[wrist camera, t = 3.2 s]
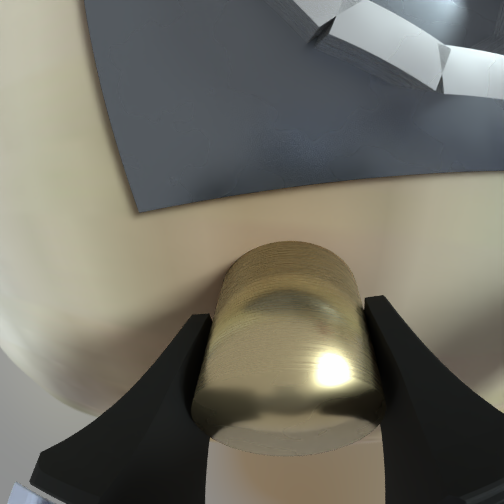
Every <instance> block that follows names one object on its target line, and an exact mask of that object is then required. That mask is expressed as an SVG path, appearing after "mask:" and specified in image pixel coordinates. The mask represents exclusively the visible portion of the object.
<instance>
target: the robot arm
mask: <svg viewBox="0 0 504 504" xmlns="http://www.w3.org/2000/svg"><path fill="white" fill-rule="evenodd" d="M364 313H365V317H366V320H367V324H368V328H369V332H370V336H371V340H372V344H373V348H374V352H375V356H376V360H377V365H378V369H379V373H380V378H381V383H382V387H383V392H384V397H385V402H386V412H385V416H384V418H383V420H382V421H381V423H380V426H381V432H382V441H383V452H384V464H385V465H384V466H385V491H386V492H385V501H386V502H385V504H504V413H502V412H501V411H499V410H498V409H496V408H495V407H493V406H492V405H491V404H489V403H488V402H487V401H485V400H484V399H483V398H481V397H480V396H479V395H477V394H476V393H475V392H473V391H472V390H471V389H470V388H469V387H468V386H466V385H465V384H464V383H463V382H462V381H461V380H459V379H458V378H457V377H456V376H455V375H454V374H453V373H452V372H451V371H450V370H449V369H448V368H447V367H445V366H444V365H443V364H442V363H441V362H440V361H439V359H438V358H437V357H436V356H435V355H434V354H433V353H432V352H431V351H430V350H429V349H428V348H427V347H426V346H425V345H424V343H423V342H422V341H421V340H420V339H419V338H418V337H417V335H416V334H415V333H414V332H413V331H412V330H411V329H410V327H409V326H408V325H407V324H406V323H405V321H404V320H403V319H402V318H401V316H400V315H399V314H398V313H397V311H396V310H395V309H394V308H393V306H392V305H391V304H390V302H389V301H388V300H387V298H386V297H385V296H383V295H381V296H374V297H367V298H365V306H364ZM212 323H213V322H212V319H211V317H210V314H195V315H192V316H191V317H190V318H189V320H188V321H187V322H186V323H185V325H184V326H183V327H182V329H181V330H180V331H179V332H178V334H177V335H176V336H175V338H174V339H173V340H172V342H171V343H170V344H169V345H168V347H167V348H166V349H165V350H164V352H163V353H162V354H161V355H160V357H159V358H158V359H157V360H156V362H155V363H154V364H153V365H152V366H151V367H150V368H149V370H148V371H147V372H146V373H145V374H144V375H143V376H142V377H141V379H140V380H139V381H138V382H137V383H136V384H135V385H134V386H133V387H132V388H131V389H130V390H129V391H128V392H127V393H126V394H125V395H124V396H123V397H122V398H121V399H120V400H119V401H117V402H116V403H115V404H114V405H113V406H112V407H111V408H109V409H108V410H107V411H106V412H104V413H103V414H102V415H101V416H99V417H98V418H97V419H96V420H95V421H93V422H92V423H91V424H89V425H88V426H86V427H84V428H83V429H82V430H80V431H79V432H77V433H75V434H74V435H72V436H71V437H69V438H67V439H66V440H64V441H62V442H60V443H58V444H56V445H54V446H52V447H51V448H49V449H47V450H45V451H42V452H41V453H40V456H39V458H38V461H37V463H36V466H35V468H34V471H33V473H32V476H31V479H30V484H31V485H33V486H35V487H36V488H38V489H40V490H41V491H43V492H45V493H47V494H49V495H51V496H53V497H54V498H56V499H58V500H60V501H62V502H64V503H66V504H205V485H206V469H207V457H208V447H209V440H210V437H209V436H208V435H206V434H205V433H204V432H203V431H202V430H200V428H199V427H198V426H197V425H196V424H195V422H194V420H193V418H192V415H191V407H192V403H193V399H194V394H195V390H196V386H197V382H198V378H199V374H200V370H201V366H202V362H203V358H204V354H205V350H206V346H207V342H208V338H209V334H210V330H211V326H212ZM7 504H56V503H53V502H52V501H50V500H48V499H46V498H43V497H41V496H40V495H38V494H36V493H35V492H33V491H31V490H30V489H28V488H26V487H25V486H23V485H21V484H20V483H18V482H15V483H14V486H13V489H12V491H11V494H10V497H9V500H8V503H7Z"/></svg>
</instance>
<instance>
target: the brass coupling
mask: <svg viewBox="0 0 504 504" xmlns="http://www.w3.org/2000/svg"><path fill="white" fill-rule="evenodd" d="M385 412H386V402H385V397H384V392H383V387H382V383H381V378H380V373H379V369H378V365H377V360H376V356H375V352H374V348H373V344H372V340H371V336H370V332H369V328H368V324H367V320H366V317H365V313H364V309H363V306H362V302H361V298H360V295H359V291H358V288H357V285H356V281H355V278H354V276H353V274H352V272H351V270H350V269H349V267H348V266H347V264H346V263H345V262H344V261H343V260H342V259H341V258H339V257H338V256H337V255H336V254H334V253H333V252H331V251H329V250H327V249H325V248H323V247H321V246H318V245H314V244H311V243H306V242H298V241H284V242H276V243H270V244H267V245H263V246H260V247H258V248H256V249H253V250H251V251H250V252H248V253H246V254H245V255H243V256H242V257H241V258H239V259H238V260H237V261H236V262H235V263H234V264H233V265H232V266H231V268H230V269H229V271H228V272H227V274H226V276H225V278H224V281H223V284H222V288H221V292H220V296H219V299H218V303H217V307H216V311H215V315H214V319H213V323H212V326H211V330H210V334H209V338H208V342H207V346H206V350H205V354H204V358H203V362H202V366H201V370H200V374H199V378H198V382H197V386H196V390H195V394H194V399H193V403H192V407H191V415H192V418H193V420H194V422H195V424H196V425H197V426H198V427H199V428H200V430H202V431H203V432H204V433H205V434H206V435H208V436H209V437H211V438H212V439H214V440H216V441H218V442H220V443H222V444H224V445H227V446H229V447H232V448H235V449H238V450H242V451H246V452H250V453H255V454H262V455H270V456H302V455H312V454H318V453H323V452H328V451H331V450H335V449H338V448H341V447H344V446H347V445H349V444H352V443H354V442H356V441H358V440H360V439H362V438H363V437H365V436H366V435H368V434H369V433H370V432H372V431H373V430H374V429H375V428H376V427H377V426H378V425H379V424H380V423H381V421H382V420H383V418H384V416H385Z"/></svg>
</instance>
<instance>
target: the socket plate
mask: <svg viewBox="0 0 504 504" xmlns="http://www.w3.org/2000/svg"><path fill="white" fill-rule="evenodd" d="M84 3H85V10H86V16H87V22H88V27H89V33H90V38H91V43H92V48H93V53H94V58H95V62H96V67H97V71H98V76H99V80H100V84H101V88H102V92H103V96H104V100H105V104H106V108H107V112H108V115H109V119H110V122H111V126H112V130H113V133H114V137H115V140H116V143H117V147H118V150H119V153H120V156H121V160H122V163H123V166H124V169H125V172H126V175H127V178H128V181H129V184H130V187H131V190H132V193H133V196H134V199H135V202H136V205H137V208H138V211H139V213H140V212H145V211H150V210H155V209H160V208H165V207H171V206H176V205H181V204H187V203H192V202H198V201H203V200H209V199H215V198H221V197H227V196H233V195H240V194H246V193H253V192H259V191H266V190H273V189H280V188H288V187H295V186H303V185H311V184H319V183H327V182H336V181H345V180H355V179H365V178H376V177H387V176H399V175H412V174H427V173H444V172H464V171H497V170H504V0H84Z"/></svg>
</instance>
